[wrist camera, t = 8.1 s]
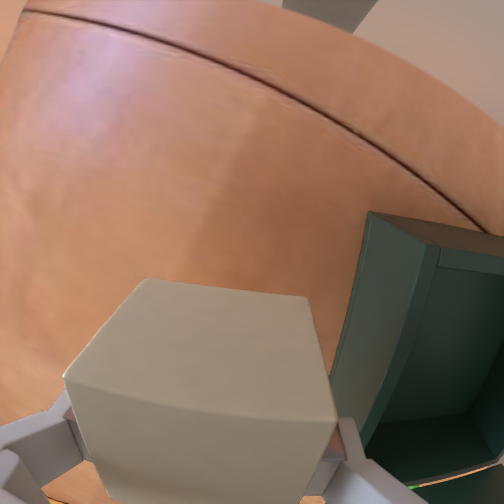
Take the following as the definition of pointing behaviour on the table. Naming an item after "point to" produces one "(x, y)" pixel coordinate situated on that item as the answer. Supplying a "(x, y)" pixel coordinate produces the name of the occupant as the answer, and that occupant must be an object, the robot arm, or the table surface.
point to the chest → (424, 349)
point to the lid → (467, 488)
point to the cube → (204, 396)
